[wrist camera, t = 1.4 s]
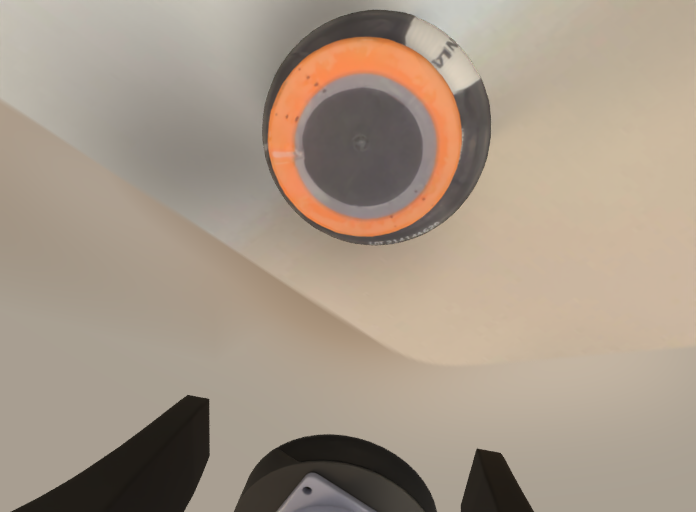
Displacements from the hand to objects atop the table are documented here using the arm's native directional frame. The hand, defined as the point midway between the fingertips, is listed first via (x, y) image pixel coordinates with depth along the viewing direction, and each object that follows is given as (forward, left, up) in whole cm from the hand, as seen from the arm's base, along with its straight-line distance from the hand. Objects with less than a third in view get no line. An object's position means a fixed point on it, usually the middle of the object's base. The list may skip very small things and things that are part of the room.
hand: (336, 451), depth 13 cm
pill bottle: (+7, +4, -11) cm, 13 cm away
